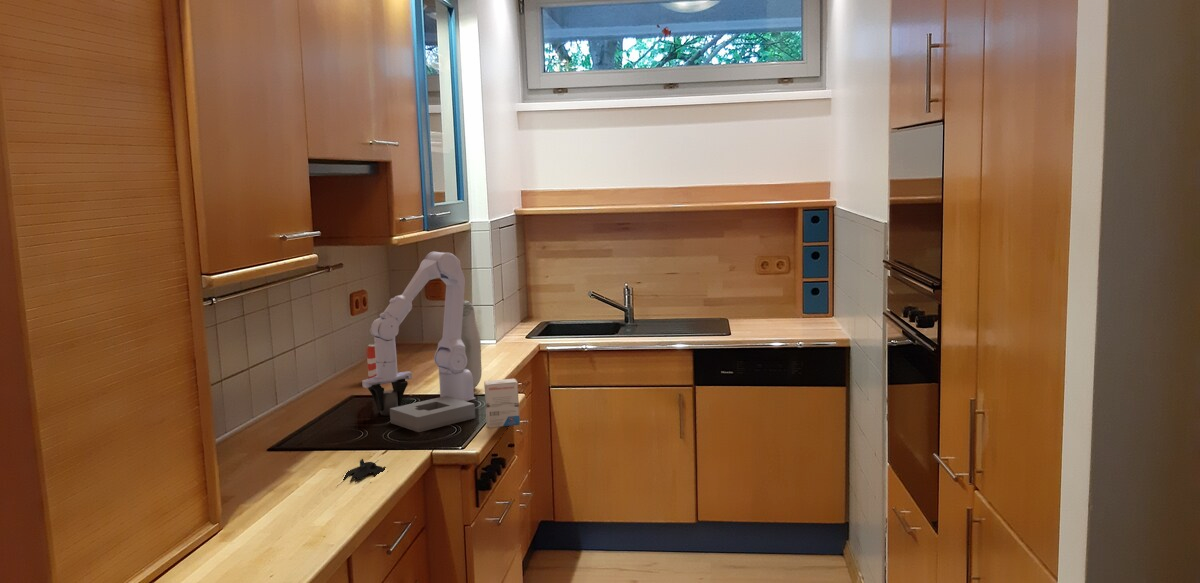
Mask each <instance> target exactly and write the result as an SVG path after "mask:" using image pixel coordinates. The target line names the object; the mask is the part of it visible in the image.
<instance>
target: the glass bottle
mask: <svg viewBox="0 0 1200 583" xmlns="http://www.w3.org/2000/svg"><path fill="white" fill-rule="evenodd" d="M461 340H462V342H463V344H464V345H465V353H466V356H467V365H466V367H465V368H464V369H468V370H469V371H470V372H471V374H472V376H473V389H475V388H477V387H478V385H479V383H480V381H481V379H482V374H483V373H482V369H483V368H482V347H481V346H482V344H481V336H480V332H479V327H478V325H477V321H476V311H475V307H474V305H473V304H472V302H470V301H468V300H466V299H464V305H463V319H462V333H461Z"/></svg>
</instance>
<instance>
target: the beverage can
mask: <svg viewBox="0 0 1200 583" xmlns="http://www.w3.org/2000/svg"><path fill="white" fill-rule="evenodd" d="M367 346H368V347H367V348H366V360H367V361H366V362H367V372H368V373H367V374H368V379H370V378H373V377H376V376H377V373H376V359H375V342H374V343H369V344H368V345H367Z"/></svg>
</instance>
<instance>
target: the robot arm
mask: <svg viewBox="0 0 1200 583" xmlns="http://www.w3.org/2000/svg"><path fill="white" fill-rule="evenodd" d="M461 262H462V261H461V260H460V259H459V258H458V257H457V256H456V255H455V254H454V253H451V252H439V251H434V250H433V251H431V252H429V253H427V254H426V256H425V257H424V259H423V260H422V261H421V262H420V264H419V267H418V269H417V270H416V272H415V273H414V275H413V276H412V278H411V279H410V282H408V284H407V286H406V287H405V288H404V291H403V292H402V293H401V294H399V295H395V296H394V297H391V298H390V300H389V301H388V302H389V304H388V306H387V307H385V309H384V311H383V312H381V313H380V314H379V317H378V318H376V319H374V320H373V322H372V323H371V325H370V326H371V327H369V333H370V334H371V336H372V337H373V340H374V343H375V359H376V373H377V376H376V377H373V378H370V379H369V378H366V379H363V380H361V381H362V382H361V383H362V384H361V385H362V388H365V389H368V391H369V392H370V394H371V395H372V398H373V400H374V402H375V405H376V409H377V411H383V409H384V405H383V394H384V391H385V387H382V385H384V384H385V385H386V384H390V383H391V387H392V390H395V391H397V393H398V407H399V406H402V402H403V397H404V394H405V391H406V389H407V387H408V383H409V382H408V381H407V380H412V379H413V376H412V371H409V370H408V371H402V372H398V361H397V346H396V344H397V343H396V337H397V335H398V334H399V331H400V325H401V324H402V323H403V321H404V320H405V318H406V317H407V315H409V313H410V312H411V310H413V304H412V302H413V301H414V299H415V298H416V297H417V295H418V294H419V293H420V292H421V291H422V290H423V288H424V287H425V286H426V285H427V284H428V282H429V281H431V280H435V279H439V278H440V280H441V281H442V282H443V283H444V284H445V297H444V310H443V312H444V313H443V323H442V324H443V326H442V328H443V329H442V337H441V339H440V340H439V341H438V343H437V349H436V351H435V353H434V356H433V360H434V363H435V365H436V366H437V367H438V376H439V377H438V380H439V395H440V396H439V397H443V396H448V397H452V398H455V399H459V400H463V401H466V402H469V401H472V400H476V396H475V393H474V392H475V391H474V389H475V388H474V389H473V376H472V374H471V372H470V371H469V370H468V369H464V368H465V367H466V365H467V356H466V353H465V345H464V344H463V342H462V340H461V333H462V319H463V305H464V300H465V289H466V278H465V275H464V272H463V270H462V267H461Z"/></svg>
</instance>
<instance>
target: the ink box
mask: <svg viewBox="0 0 1200 583" xmlns="http://www.w3.org/2000/svg"><path fill="white" fill-rule="evenodd" d="M483 383H484V406H485V422H486V428H488V429H489V428H500V427H501V428H502V427H510V426H520V424H521V421H520V420H521V419H520V403H519V401H520V399H519V383H518V380H517V379H516V378H506V379H495V380H494V379H492V380H484V382H483Z"/></svg>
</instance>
